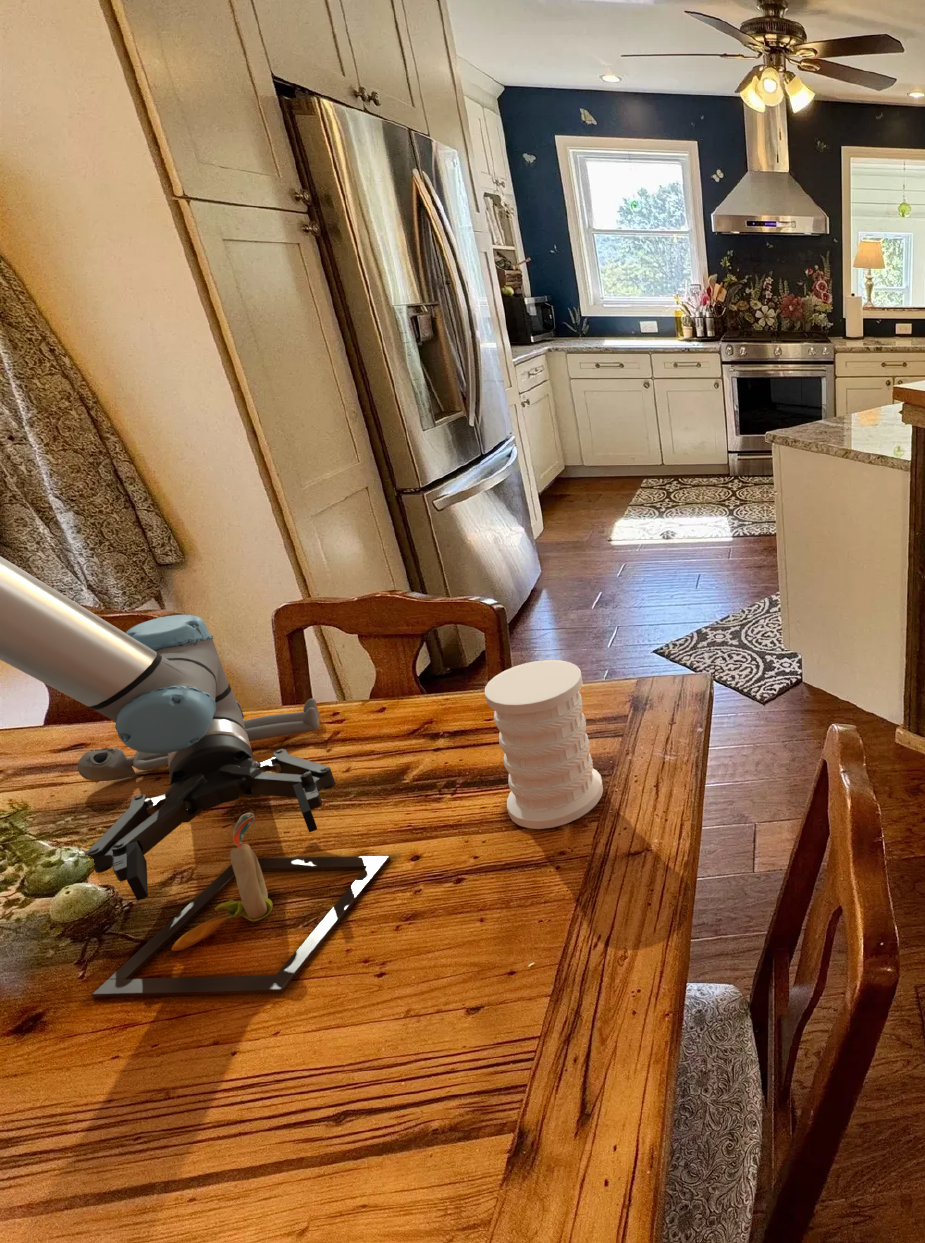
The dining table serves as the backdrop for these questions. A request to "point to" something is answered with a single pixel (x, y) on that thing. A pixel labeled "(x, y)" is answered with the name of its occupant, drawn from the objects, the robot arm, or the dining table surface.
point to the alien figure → (117, 766)
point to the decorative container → (544, 743)
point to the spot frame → (128, 987)
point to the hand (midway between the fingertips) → (229, 853)
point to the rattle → (248, 885)
